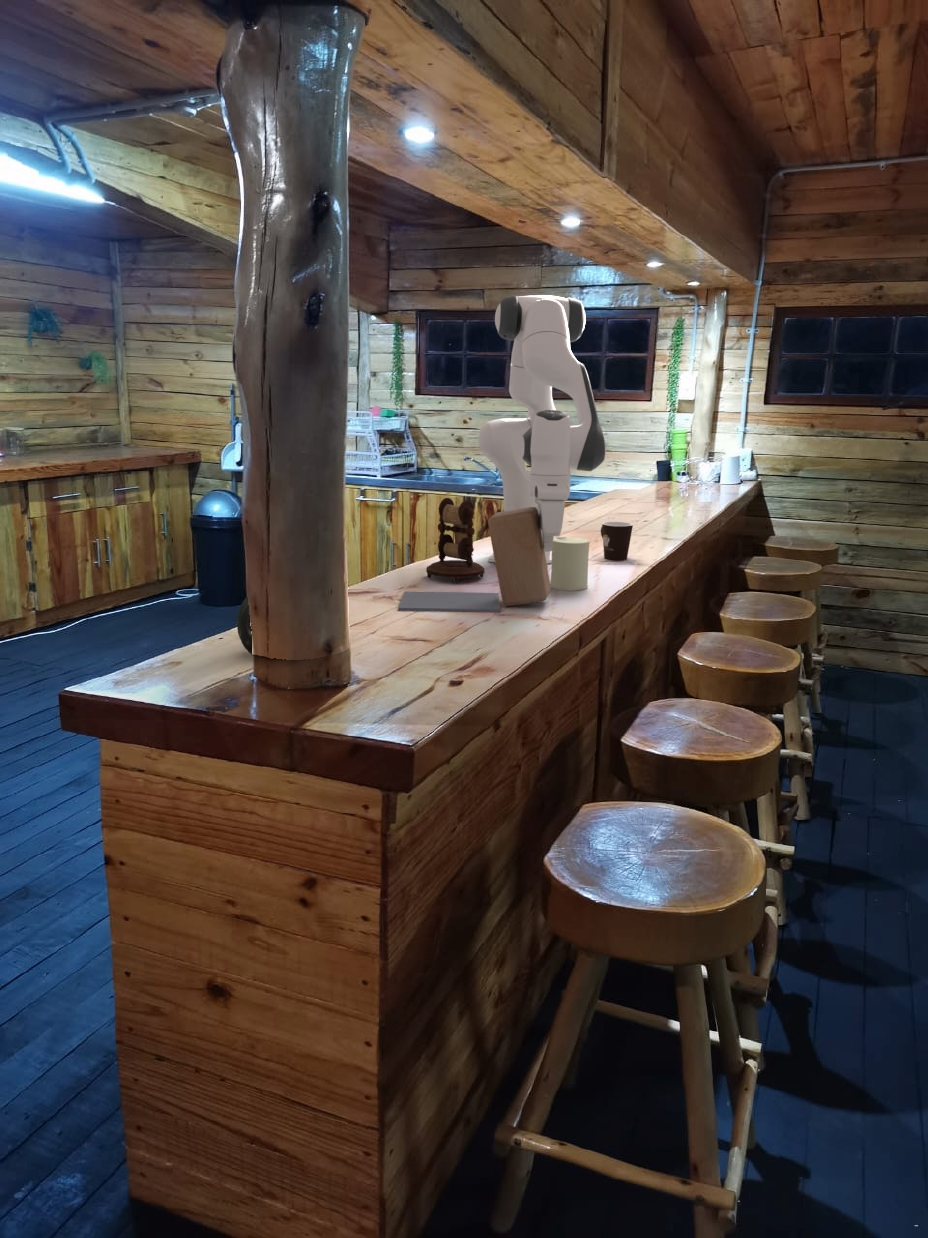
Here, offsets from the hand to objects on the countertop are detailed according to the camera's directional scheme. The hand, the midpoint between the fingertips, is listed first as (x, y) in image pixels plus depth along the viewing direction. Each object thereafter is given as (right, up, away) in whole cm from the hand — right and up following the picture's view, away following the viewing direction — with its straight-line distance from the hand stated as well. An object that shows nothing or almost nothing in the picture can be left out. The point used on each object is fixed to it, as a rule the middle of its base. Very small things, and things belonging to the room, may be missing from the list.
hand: (547, 550), depth 197 cm
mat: (-21, -12, +3) cm, 25 cm away
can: (+7, -7, +22) cm, 24 cm away
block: (-4, -11, +3) cm, 12 cm away
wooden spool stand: (-21, -5, +30) cm, 36 cm away
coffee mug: (+25, +2, +59) cm, 64 cm away
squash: (-52, -22, -36) cm, 66 cm away
